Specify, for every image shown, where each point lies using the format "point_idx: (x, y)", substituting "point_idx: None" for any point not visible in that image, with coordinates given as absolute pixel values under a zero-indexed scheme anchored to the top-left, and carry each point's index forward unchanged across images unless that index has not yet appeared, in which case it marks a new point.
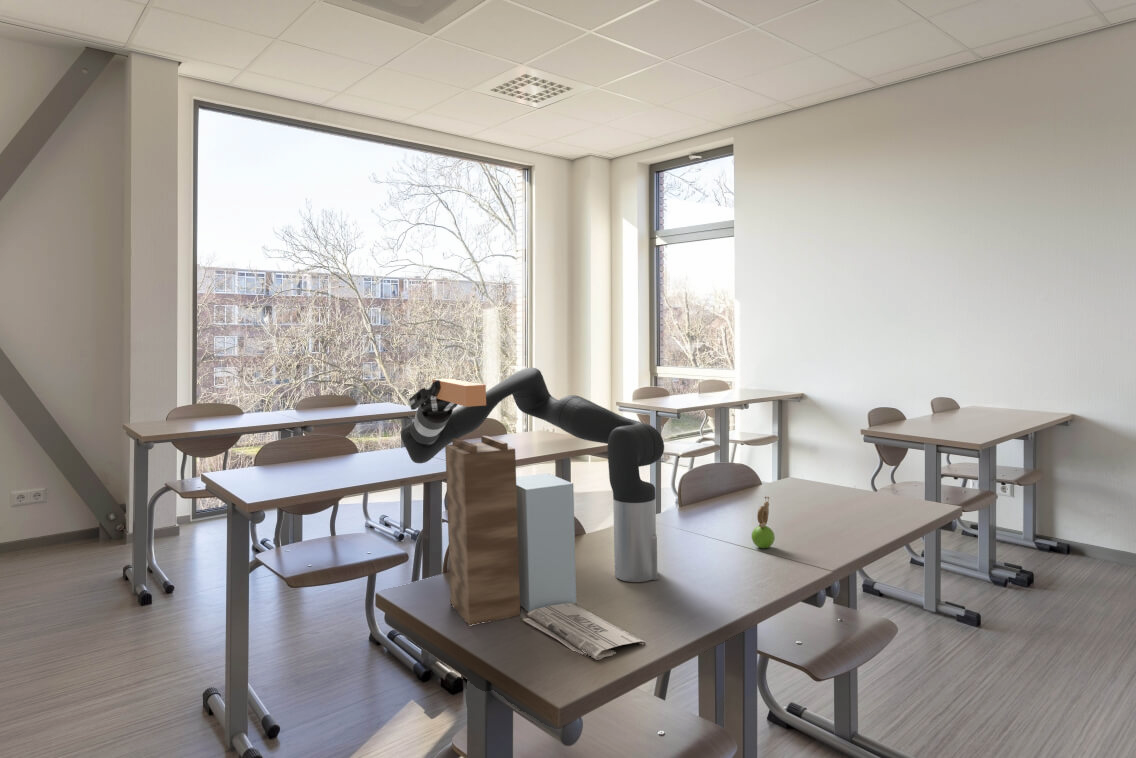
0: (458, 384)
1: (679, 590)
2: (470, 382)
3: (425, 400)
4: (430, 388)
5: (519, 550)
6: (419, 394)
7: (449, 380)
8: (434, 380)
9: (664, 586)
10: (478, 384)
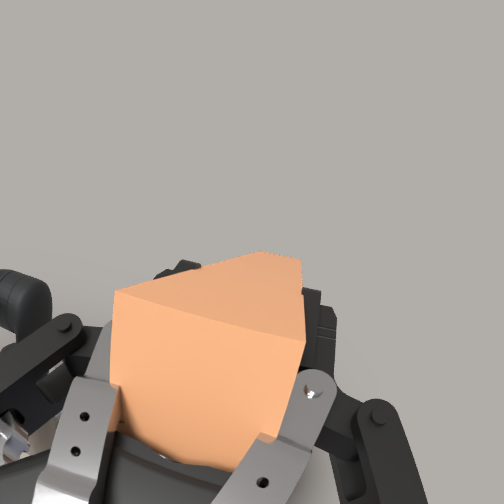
0: (300, 263)
1: (61, 410)
2: (250, 256)
3: (335, 464)
4: (331, 371)
5: (181, 463)
6: (388, 475)
7: (253, 276)
8: (303, 324)
9: (56, 419)
10: (266, 253)
